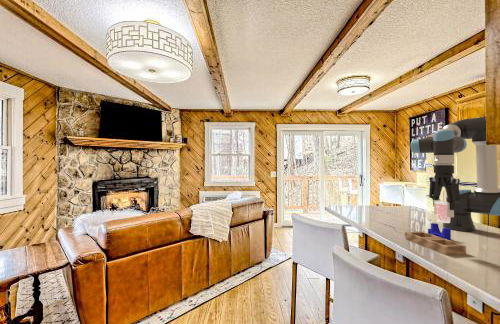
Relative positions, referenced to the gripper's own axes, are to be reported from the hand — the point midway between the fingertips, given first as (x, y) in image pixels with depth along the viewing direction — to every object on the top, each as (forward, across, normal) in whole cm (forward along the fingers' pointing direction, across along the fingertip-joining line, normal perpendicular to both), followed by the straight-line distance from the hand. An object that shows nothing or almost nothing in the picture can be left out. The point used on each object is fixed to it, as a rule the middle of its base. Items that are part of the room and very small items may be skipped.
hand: (443, 215), depth 118 cm
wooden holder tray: (+16, -6, 0) cm, 17 cm away
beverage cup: (+3, 0, 0) cm, 3 cm away
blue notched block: (+16, -19, +16) cm, 30 cm away
